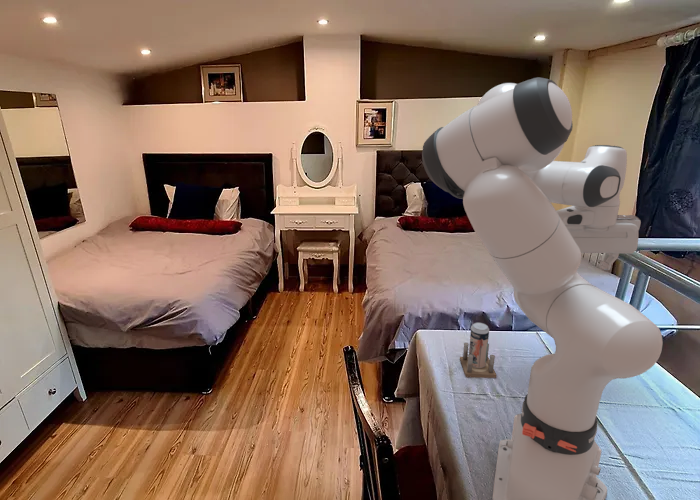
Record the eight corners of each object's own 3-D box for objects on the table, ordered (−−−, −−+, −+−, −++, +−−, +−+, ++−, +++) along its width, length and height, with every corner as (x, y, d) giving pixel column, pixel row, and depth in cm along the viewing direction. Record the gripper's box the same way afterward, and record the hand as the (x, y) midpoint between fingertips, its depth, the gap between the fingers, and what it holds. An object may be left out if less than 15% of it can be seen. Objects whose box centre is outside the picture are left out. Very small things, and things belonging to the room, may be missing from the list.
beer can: (464, 361, 105) (467, 323, 101) (478, 357, 106) (482, 320, 102) (474, 371, 100) (478, 332, 97) (489, 367, 102) (493, 328, 98)
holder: (496, 378, 99) (498, 358, 97) (465, 377, 100) (467, 357, 98) (488, 360, 107) (490, 342, 105) (459, 359, 107) (461, 341, 105)
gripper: (634, 212, 91) (622, 265, 95) (545, 212, 93) (538, 263, 98) (650, 218, 85) (637, 274, 89) (555, 217, 88) (547, 272, 92)
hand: (585, 268), depth 94 cm, fingers open, 8 cm apart
